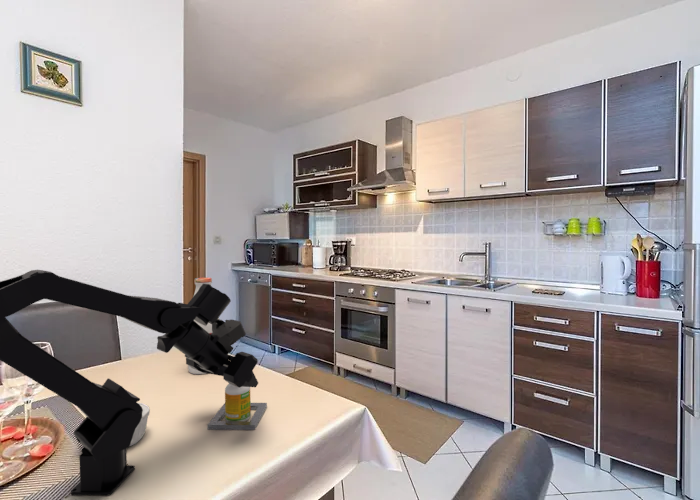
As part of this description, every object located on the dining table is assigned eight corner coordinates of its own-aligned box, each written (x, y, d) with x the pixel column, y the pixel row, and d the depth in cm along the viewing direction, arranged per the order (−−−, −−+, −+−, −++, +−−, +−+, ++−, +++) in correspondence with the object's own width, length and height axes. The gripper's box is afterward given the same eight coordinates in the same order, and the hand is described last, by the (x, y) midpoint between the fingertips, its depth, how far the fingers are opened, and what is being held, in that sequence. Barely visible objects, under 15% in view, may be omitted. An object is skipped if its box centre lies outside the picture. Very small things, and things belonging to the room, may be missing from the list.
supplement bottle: (243, 425, 75) (242, 380, 75) (220, 423, 77) (219, 378, 76) (254, 413, 81) (254, 371, 80) (233, 411, 82) (232, 369, 82)
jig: (254, 429, 74) (254, 425, 74) (207, 429, 74) (207, 424, 74) (266, 406, 84) (266, 402, 84) (225, 406, 84) (225, 402, 84)
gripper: (249, 316, 69) (290, 356, 78) (198, 305, 80) (239, 341, 90) (213, 367, 63) (263, 404, 72) (163, 348, 74) (211, 382, 84)
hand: (243, 379), depth 80 cm, fingers open, 9 cm apart
